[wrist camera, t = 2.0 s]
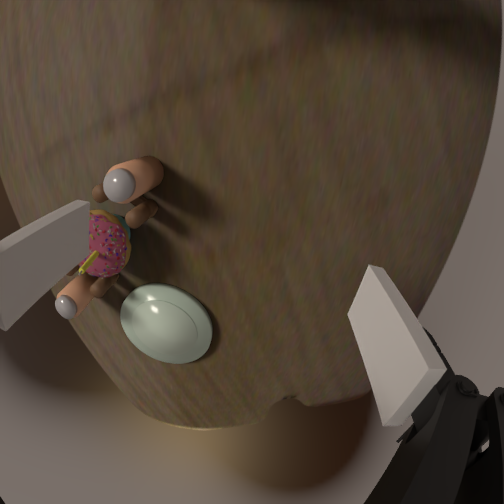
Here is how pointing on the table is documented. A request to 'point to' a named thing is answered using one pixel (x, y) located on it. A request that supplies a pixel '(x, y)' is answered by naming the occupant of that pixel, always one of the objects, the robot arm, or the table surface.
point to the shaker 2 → (132, 179)
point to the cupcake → (106, 245)
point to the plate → (166, 323)
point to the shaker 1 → (75, 296)
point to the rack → (133, 220)
